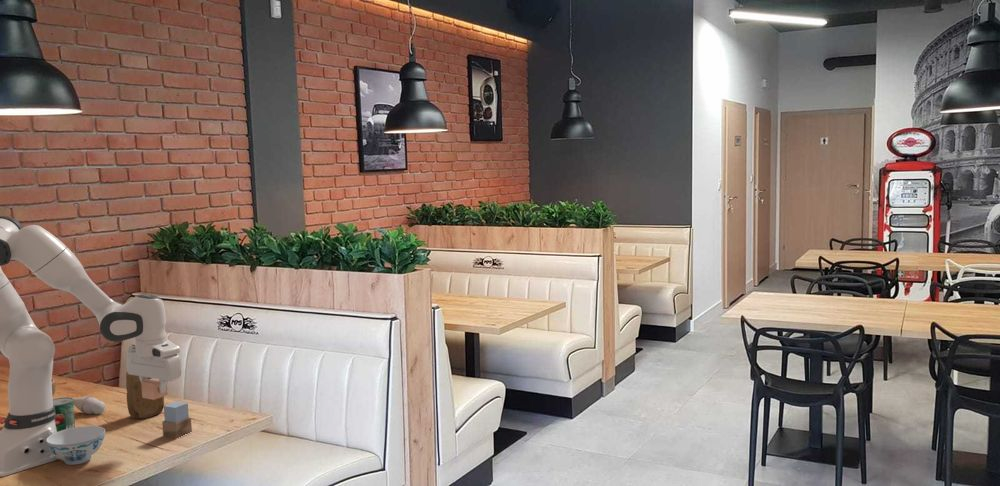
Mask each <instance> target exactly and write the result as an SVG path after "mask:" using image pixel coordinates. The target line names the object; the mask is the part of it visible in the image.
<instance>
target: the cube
mask: <svg viewBox="0 0 1000 486" xmlns="http://www.w3.org/2000/svg"><path fill="white" fill-rule="evenodd" d="M160 384H161V383H160V382H159V379H154V378H152V379H148V380H145V381H142V382H141V385H142V398H147V399H152V400H155V399H158V398H161V397H163V396H164V397H166V396H168V395H169V394H168V384H167V385H166V392H165V393H158V389H157V387H160Z"/></svg>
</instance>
